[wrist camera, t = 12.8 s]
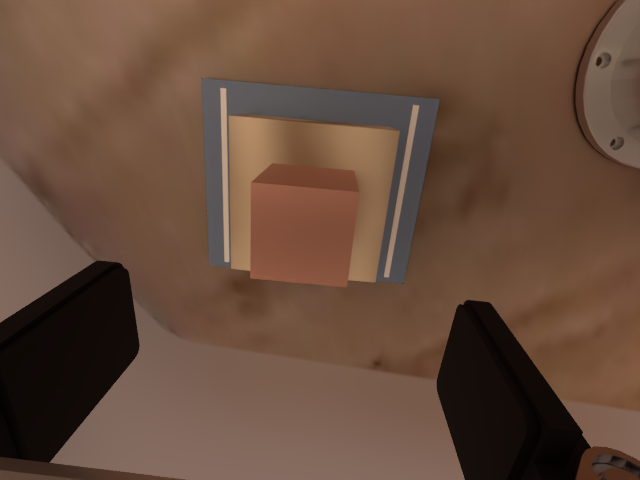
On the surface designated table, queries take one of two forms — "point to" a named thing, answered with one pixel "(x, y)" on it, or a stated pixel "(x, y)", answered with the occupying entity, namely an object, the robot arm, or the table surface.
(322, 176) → the terracotta block
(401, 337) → the table surface
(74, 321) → the robot arm
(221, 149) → the board
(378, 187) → the maple base block
